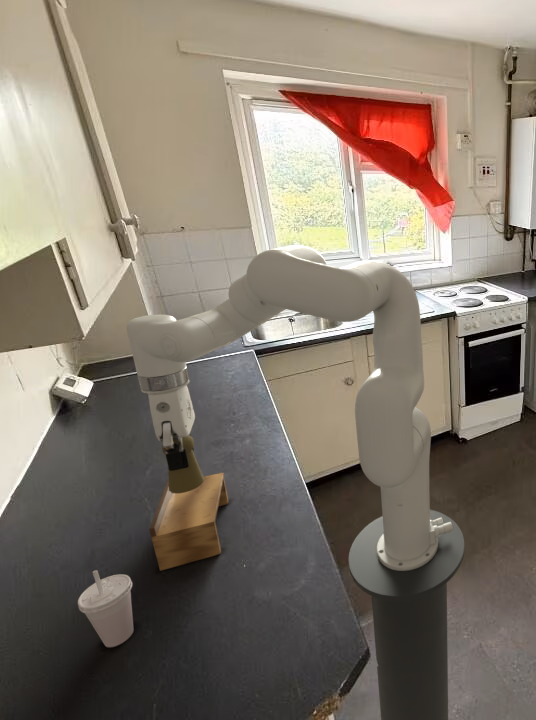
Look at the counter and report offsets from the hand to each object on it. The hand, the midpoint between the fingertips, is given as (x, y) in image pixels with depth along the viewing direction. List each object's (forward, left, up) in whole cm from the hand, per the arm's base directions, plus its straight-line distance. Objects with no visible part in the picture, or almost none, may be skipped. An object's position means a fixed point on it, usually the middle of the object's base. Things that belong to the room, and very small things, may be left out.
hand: (182, 459), depth 87 cm
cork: (0, 0, -6) cm, 6 cm away
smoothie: (+8, +22, -18) cm, 30 cm away
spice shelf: (0, 0, -18) cm, 18 cm away
